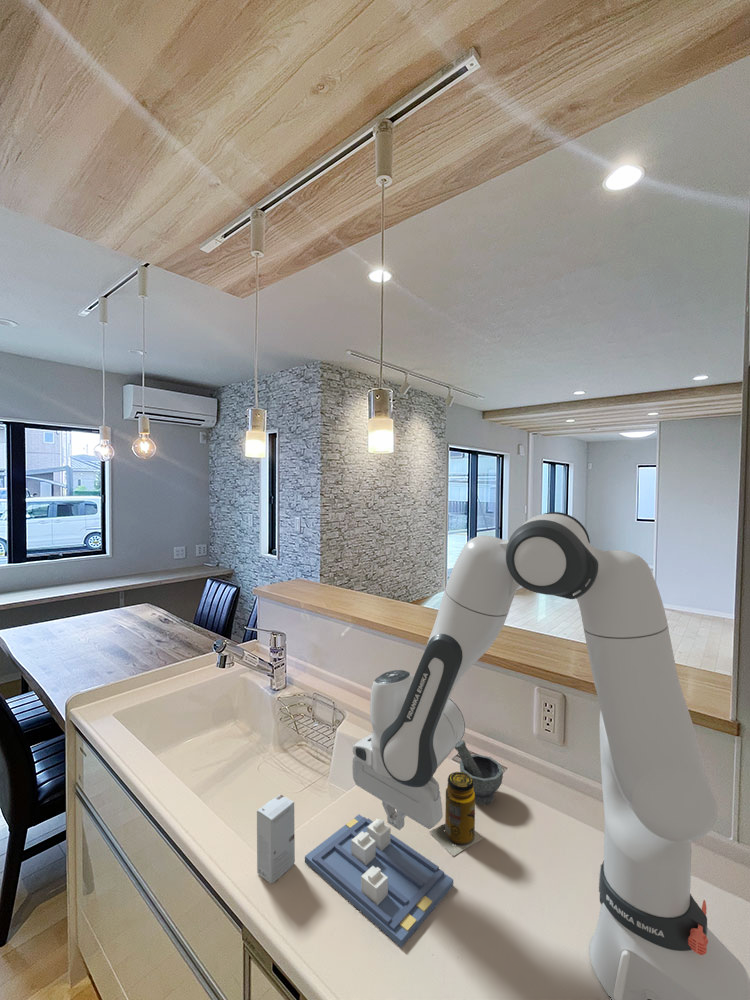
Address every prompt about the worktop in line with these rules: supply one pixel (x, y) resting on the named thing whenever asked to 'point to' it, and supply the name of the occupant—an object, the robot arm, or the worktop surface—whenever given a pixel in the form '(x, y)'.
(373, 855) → the tab
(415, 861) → the switch bank
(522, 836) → the worktop surface
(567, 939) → the worktop surface
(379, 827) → the tab
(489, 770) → the mortar and pestle
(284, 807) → the skincare box
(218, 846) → the worktop surface
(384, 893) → the tab
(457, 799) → the condiment
